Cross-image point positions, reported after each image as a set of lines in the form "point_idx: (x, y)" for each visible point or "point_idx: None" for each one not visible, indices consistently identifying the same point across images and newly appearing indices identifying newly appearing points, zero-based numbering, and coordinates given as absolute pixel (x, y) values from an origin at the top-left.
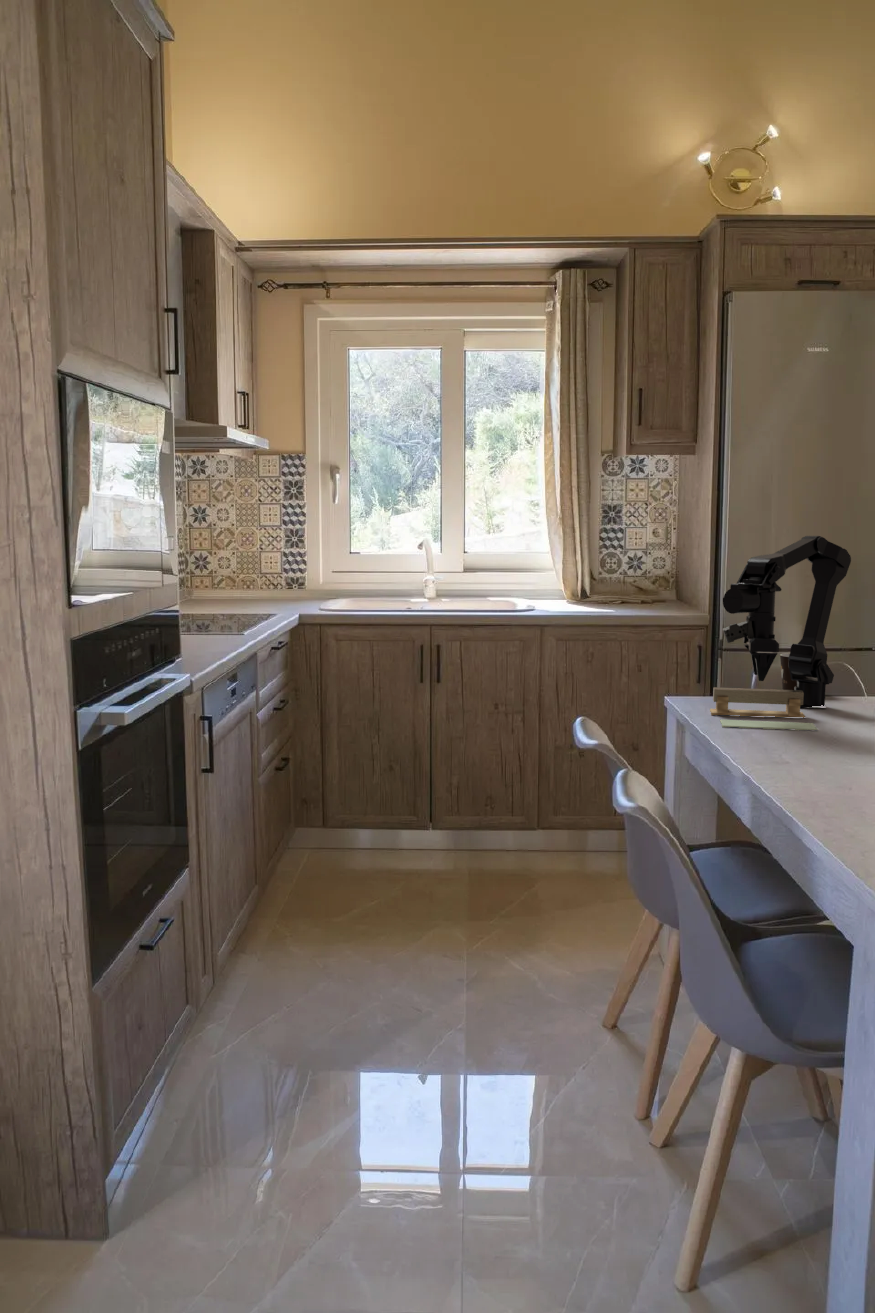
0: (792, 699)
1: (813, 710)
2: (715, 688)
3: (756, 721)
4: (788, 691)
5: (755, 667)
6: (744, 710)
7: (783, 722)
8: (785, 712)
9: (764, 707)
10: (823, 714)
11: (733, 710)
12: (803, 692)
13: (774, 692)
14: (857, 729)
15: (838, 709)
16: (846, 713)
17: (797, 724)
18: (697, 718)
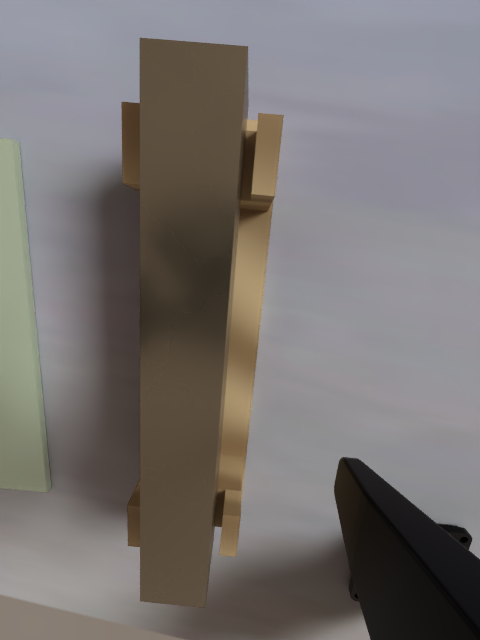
0: (133, 517)
1: (330, 551)
2: (189, 58)
3: (16, 304)
4: (154, 543)
5: (372, 531)
6: (248, 297)
7: (28, 403)
8: (222, 452)
9: (390, 404)
10: (256, 561)
11: (239, 244)
12: (140, 599)
13: (142, 470)
14: (21, 583)
15: (353, 620)
16: (282, 622)
17: (5, 441)
18: (64, 22)
